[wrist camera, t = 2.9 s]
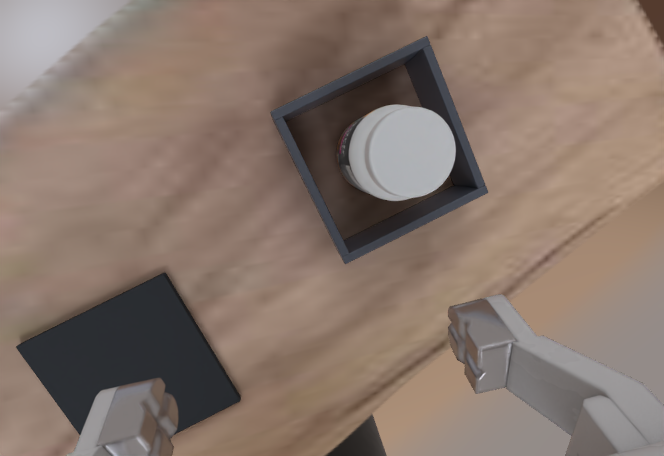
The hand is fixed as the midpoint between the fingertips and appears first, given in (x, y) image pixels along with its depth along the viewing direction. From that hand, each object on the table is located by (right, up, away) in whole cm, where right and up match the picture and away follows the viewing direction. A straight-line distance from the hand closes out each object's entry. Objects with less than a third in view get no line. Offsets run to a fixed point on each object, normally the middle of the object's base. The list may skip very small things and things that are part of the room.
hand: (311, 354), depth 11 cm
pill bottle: (+4, +9, +19) cm, 21 cm away
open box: (+4, +9, +19) cm, 21 cm away
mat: (-15, -8, +19) cm, 26 cm away
